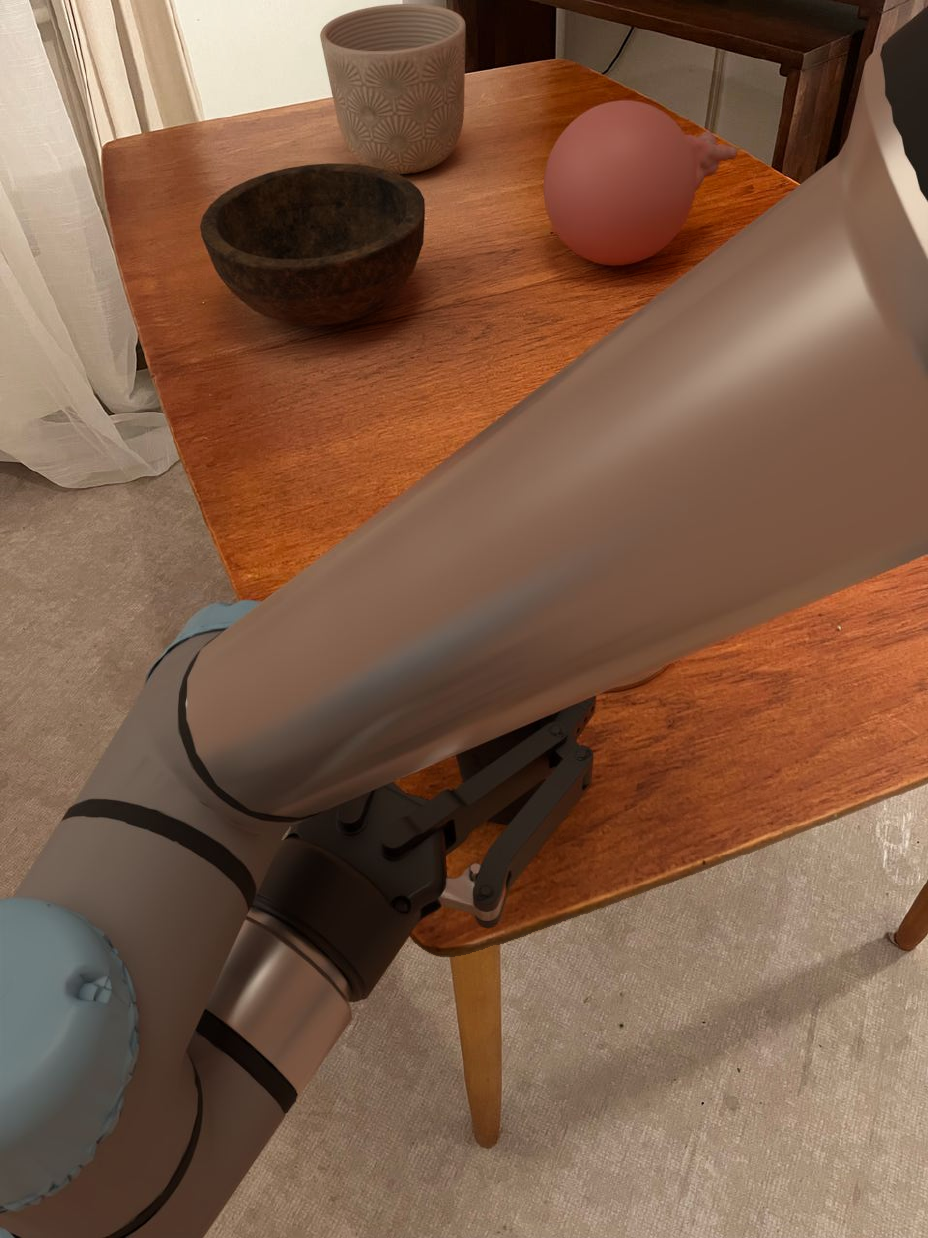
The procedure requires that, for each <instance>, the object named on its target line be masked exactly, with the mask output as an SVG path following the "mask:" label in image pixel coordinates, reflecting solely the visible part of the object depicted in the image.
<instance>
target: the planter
mask: <svg viewBox="0 0 928 1238" xmlns="http://www.w3.org/2000/svg"><path fill="white" fill-rule="evenodd" d="M319 38H320V43H321V44H320V45H321V48H322V52H323V58H324V62H325V67H326V72H327V77H328V81H329V87H330V91H331V96H332V101H333V104H334V105H333V106H334V110H335V115H336V119H337V124H338V128H339V131H340V134H341V136H342V139H343V141H344V144H345V145H346V147H347V149H348V150H349V152H350V153H351V155H352V156H353V157H354V158H355V159H356V160H357V161H359V163H361V165H366V166H371V167H376V168H381V169H385V170H387V171H390V172H393V173H396V174H398V175H409V174H415V173H416V174H417V173H420V172H423V171H424V172H425V171H427V170H430V169H432V168H434V167H436V166H438V165H440V164H441V163H442V162H443V161H446V159H447V158H448V157H449V156H450V155H451V153H452V152H453V151H454V149H455V148H456V146H457V144H458V142H459V139H460V136H461V134H462V129H463V124H464V119H465V118H464V116H465V83H466V82H465V81H466V79H465V78H466V21H465V19H464V18H463V16H462V15H461V14H459V13H457V12H456V11H454V10H451V9H448V8H446V7H442V6H437V5H432V4H424V3H423V4H421V3H396V4H395V3H394V4H384V5H383V4H382V5H376V6H371V7H365V8H361V9H357V10H353V11H350V12H347V13H344V14H342V15H340V16H337V17H335V18H333V19H332V20H330V21H329V22H327V23H326V24H325V25H324V26H323V27H322V29H321V30H320V34H319Z"/></svg>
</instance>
